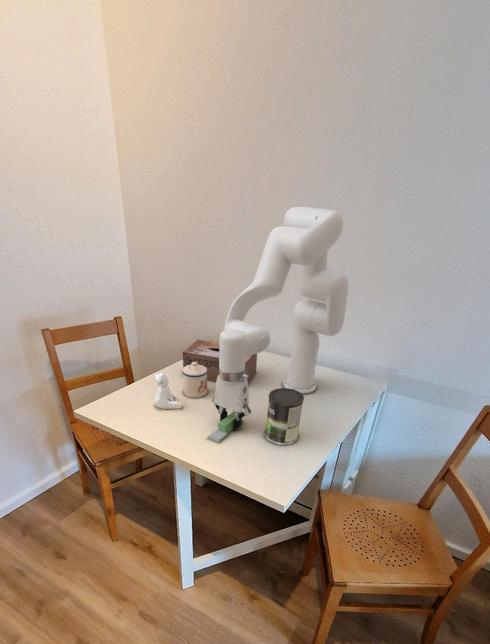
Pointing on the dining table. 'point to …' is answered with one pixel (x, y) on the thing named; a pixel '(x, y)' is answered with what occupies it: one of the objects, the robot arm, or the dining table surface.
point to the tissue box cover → (213, 359)
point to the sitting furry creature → (164, 394)
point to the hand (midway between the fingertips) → (230, 425)
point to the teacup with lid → (195, 380)
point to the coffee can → (283, 415)
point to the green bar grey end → (223, 428)
